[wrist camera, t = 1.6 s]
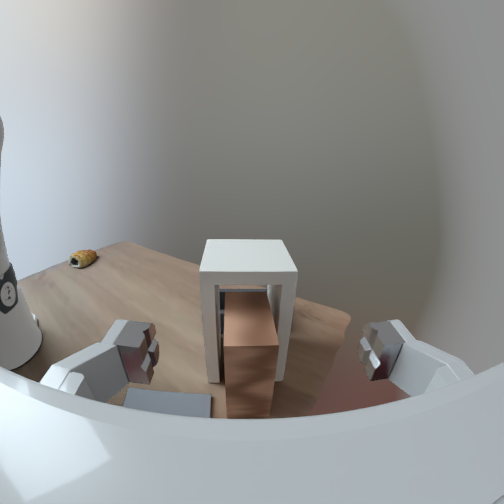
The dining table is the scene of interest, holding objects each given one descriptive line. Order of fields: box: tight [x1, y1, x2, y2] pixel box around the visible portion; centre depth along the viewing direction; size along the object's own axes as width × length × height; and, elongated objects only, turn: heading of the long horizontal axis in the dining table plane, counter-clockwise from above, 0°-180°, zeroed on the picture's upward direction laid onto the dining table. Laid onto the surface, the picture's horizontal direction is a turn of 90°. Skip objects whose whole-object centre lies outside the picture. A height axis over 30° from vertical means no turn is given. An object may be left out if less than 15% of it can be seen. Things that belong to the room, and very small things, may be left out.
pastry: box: [68, 250, 97, 268], centre depth 66 cm, size 9×7×4 cm
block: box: [224, 292, 279, 418], centre depth 30 cm, size 5×10×12 cm, turn 4°
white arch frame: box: [199, 239, 298, 383], centre depth 35 cm, size 10×10×16 cm
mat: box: [123, 387, 211, 418], centre depth 25 cm, size 11×11×1 cm
